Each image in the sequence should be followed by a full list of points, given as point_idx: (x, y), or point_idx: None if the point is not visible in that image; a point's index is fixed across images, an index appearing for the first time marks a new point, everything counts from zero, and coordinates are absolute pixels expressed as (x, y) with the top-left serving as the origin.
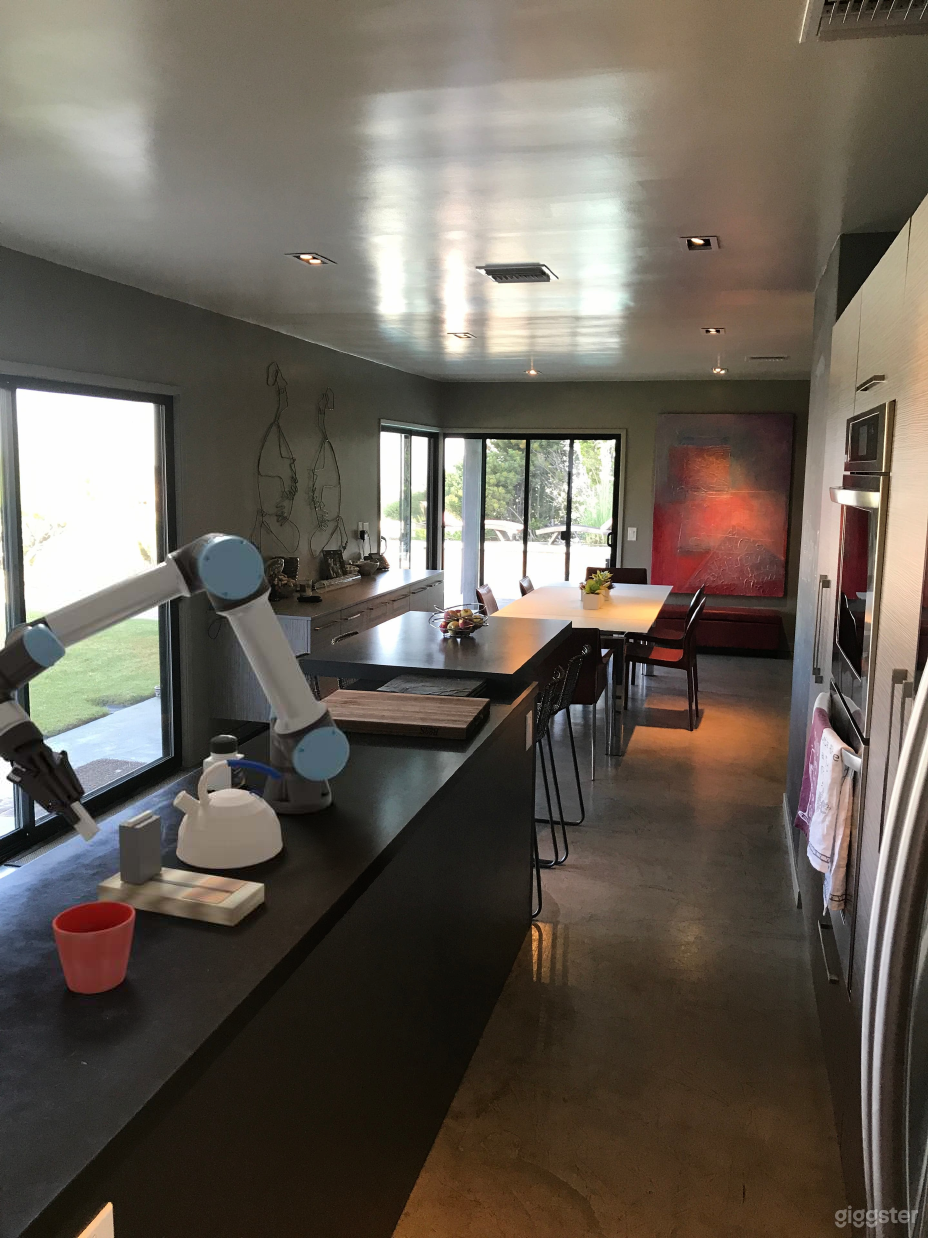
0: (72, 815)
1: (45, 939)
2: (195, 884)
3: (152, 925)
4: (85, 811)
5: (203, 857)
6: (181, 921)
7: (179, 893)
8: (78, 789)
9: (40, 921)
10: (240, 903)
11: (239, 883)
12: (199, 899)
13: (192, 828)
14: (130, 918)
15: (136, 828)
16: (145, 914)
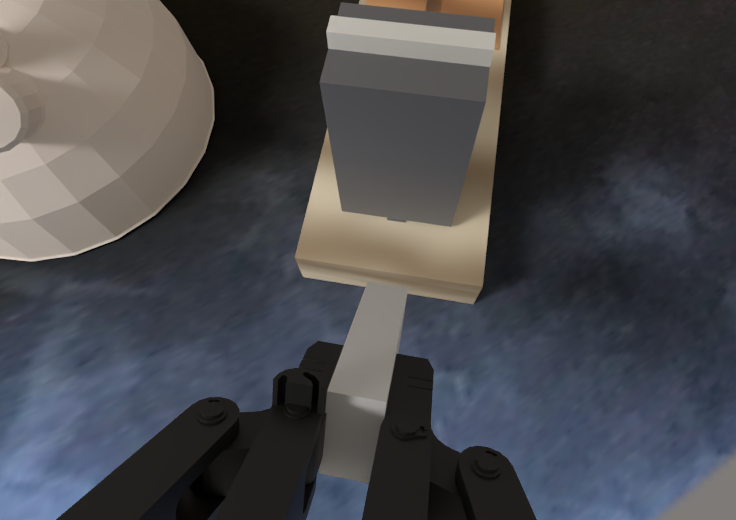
0: (424, 386)
1: (724, 325)
2: None
3: (556, 119)
4: (349, 342)
5: (196, 121)
6: (517, 73)
7: None
8: (212, 438)
9: (639, 403)
10: None
11: None
12: (498, 9)
13: (116, 113)
14: None
15: (493, 30)
16: (507, 157)
